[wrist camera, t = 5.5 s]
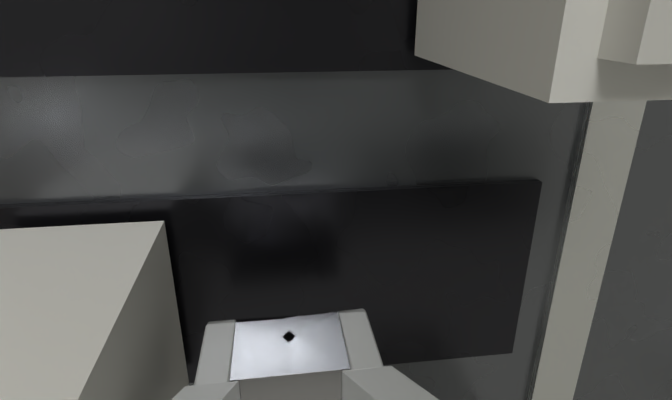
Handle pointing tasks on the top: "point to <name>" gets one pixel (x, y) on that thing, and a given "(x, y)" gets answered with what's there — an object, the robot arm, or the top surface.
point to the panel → (352, 186)
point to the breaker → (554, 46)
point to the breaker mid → (89, 314)
